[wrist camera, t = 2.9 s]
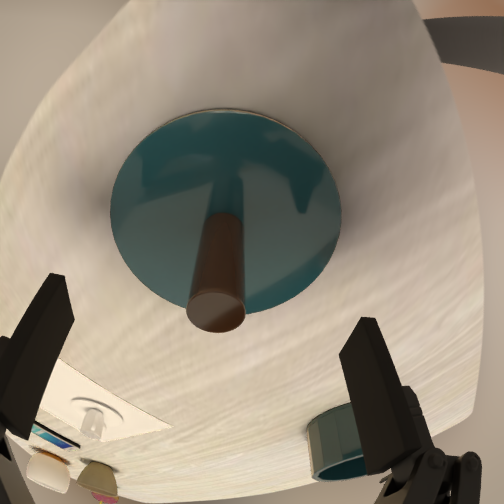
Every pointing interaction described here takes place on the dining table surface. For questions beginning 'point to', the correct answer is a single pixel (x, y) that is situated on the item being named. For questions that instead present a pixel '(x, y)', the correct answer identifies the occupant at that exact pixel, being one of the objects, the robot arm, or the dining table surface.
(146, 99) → the dining table surface
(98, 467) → the flower pot
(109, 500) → the cupcake
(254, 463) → the dining table surface
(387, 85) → the dining table surface
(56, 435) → the smartphone
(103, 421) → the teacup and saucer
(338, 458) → the bowl
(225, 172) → the lid
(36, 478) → the cup
